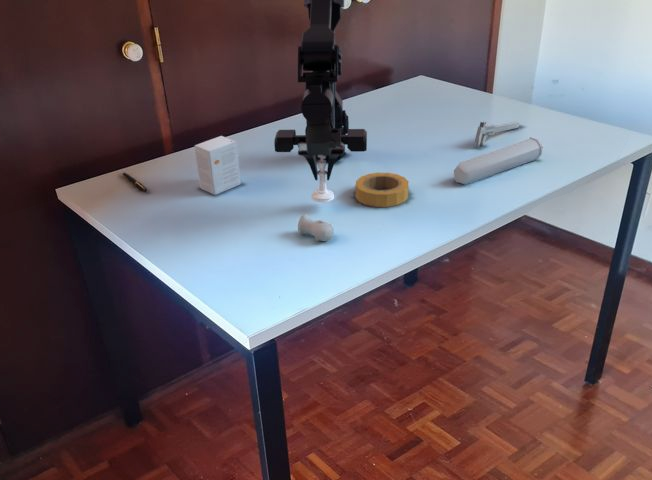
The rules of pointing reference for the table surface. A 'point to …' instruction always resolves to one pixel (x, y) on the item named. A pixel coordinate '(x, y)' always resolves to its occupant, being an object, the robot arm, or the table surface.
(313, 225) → the pale two-lobed sculpture
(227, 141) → the small box
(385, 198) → the tape roll
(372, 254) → the table surface
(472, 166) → the tube
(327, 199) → the chess piece
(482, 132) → the caliper
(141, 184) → the fountain pen
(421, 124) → the table surface
